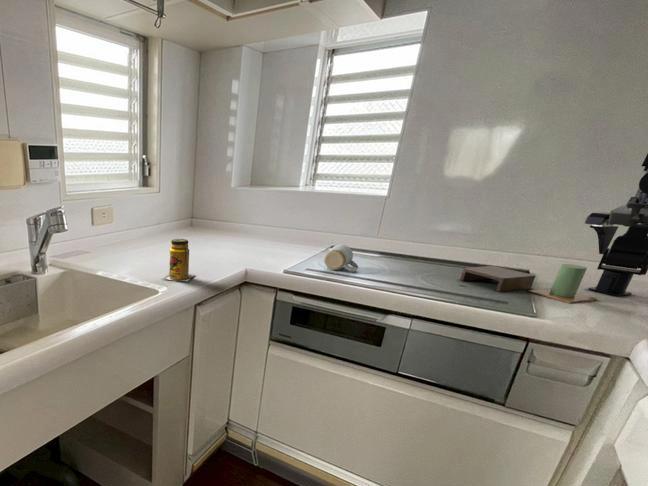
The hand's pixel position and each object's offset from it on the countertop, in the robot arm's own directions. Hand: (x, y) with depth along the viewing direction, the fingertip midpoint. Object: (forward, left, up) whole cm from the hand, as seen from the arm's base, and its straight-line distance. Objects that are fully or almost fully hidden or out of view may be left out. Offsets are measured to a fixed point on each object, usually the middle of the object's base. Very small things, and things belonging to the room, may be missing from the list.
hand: (624, 257), depth 101 cm
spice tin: (+4, -7, -12) cm, 14 cm away
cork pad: (+4, -7, -12) cm, 14 cm away
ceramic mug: (+44, -47, -12) cm, 65 cm away
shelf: (+11, -20, -12) cm, 26 cm away
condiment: (+101, -50, -12) cm, 113 cm away
